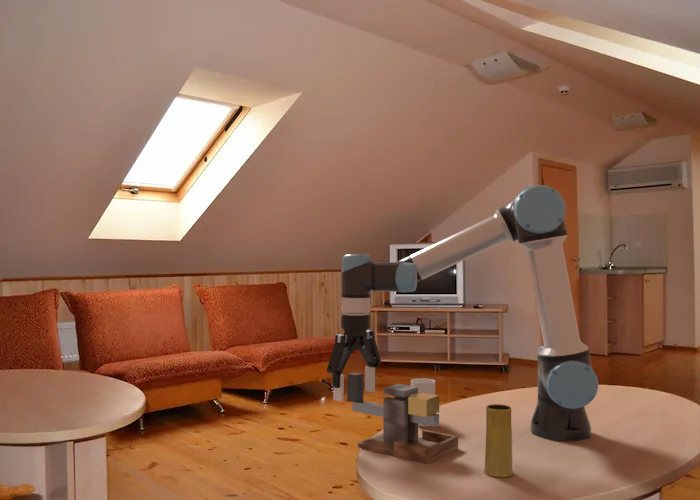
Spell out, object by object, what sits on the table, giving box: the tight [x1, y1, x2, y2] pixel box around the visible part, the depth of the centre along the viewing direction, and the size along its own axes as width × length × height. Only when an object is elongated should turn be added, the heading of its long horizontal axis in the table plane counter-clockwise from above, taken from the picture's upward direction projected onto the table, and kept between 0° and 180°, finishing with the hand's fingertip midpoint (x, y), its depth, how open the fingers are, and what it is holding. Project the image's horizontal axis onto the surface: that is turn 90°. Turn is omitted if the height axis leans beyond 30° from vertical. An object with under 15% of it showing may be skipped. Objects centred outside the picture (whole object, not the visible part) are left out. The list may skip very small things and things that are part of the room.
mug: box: [410, 378, 436, 428], centre depth 179 cm, size 10×7×12 cm, turn 161°
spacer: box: [408, 393, 440, 417], centre depth 152 cm, size 5×6×4 cm
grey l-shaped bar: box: [346, 371, 440, 427], centre depth 158 cm, size 26×3×9 cm, turn 53°
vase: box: [484, 403, 514, 479], centre depth 137 cm, size 6×6×14 cm
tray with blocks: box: [357, 383, 459, 465], centre depth 155 cm, size 20×14×14 cm
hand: (354, 395), depth 165 cm, fingers open, 13 cm apart
